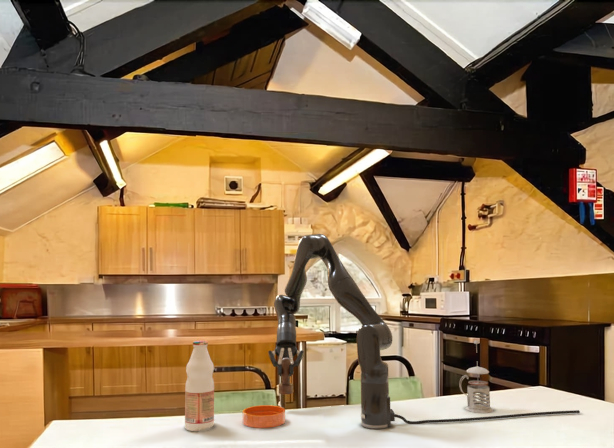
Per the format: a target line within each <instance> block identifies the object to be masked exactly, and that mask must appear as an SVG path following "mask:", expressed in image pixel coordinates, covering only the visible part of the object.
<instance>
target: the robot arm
mask: <svg viewBox="0 0 614 448" xmlns="http://www.w3.org/2000/svg"><path fill="white" fill-rule="evenodd" d="M314 259H316V260H317V259H320V260H321V261H322V262H323V264H324V266H325V267H326V269H327V286H328V289H329V292H330V293H331V294H332V296H333V298H334V299H335V301H336V302H337V304H338V305H339V306H341V307H342V308H343V309H344V310H345V311H346V312H348V313H349V314H351V315H352V316H353V317H355V319H357V320H358V321H359V323H360V324H361V326H360V327H359V328H358V330H357V332H356V333H357V335H356V350H357V352H356V353H357V362H358V365H359V368H360V426H362V427H363V428H366V429H371V430H372V429H373V430H380V429H388V428H392V422H396V418H398V419H400V420H402V421H403V422H404V423H406V424H409V425H421V424H432V423H433V424H434V423H435V424H436V423H455V422H456V423H457V422H471V421H485V420H486V421H487V420H497V419H508V418H520V417H521V418H522V417H532V416H547V415H563V414H565V415H566V414H580V413H581V411H580V410H579V409H576V410H574V409H573V410H553V411H540V412H539V411H538V412H526V413H515V414H513V413H512V414H501V415H490V416H478V417H463V418H445V419H442V418H441V419H423V420H416V421H415V420H414V421H413V420H408V419H407V418H406V417H404V416H402V415H400V414H396V412H395V411H394V410H393V409H392V408H391V396H390V386H389V383H390V382H389V364H388V363H387V362H386V361H383V360H382V357H381V351H385V350H387V349H389V348H390V347H392V344H393V333H392V331H391V329H390V327H389V326H388V324H387V323H386V321H384V320H383V319H382V317H381V316H380V315H379V313H377V311H376V310H375V309H374V308H373V306H372V305H371V304H370V302H369V300H368V299H367V298H366V296H365V295H364V294H363V292H362V291H361V289H360V288H359V286H358V284H357V283H356V281H355V280H354V278H353V277H352V276H351V274H350V273H349V271H348V270H347V269H346V267H345V265H344V264H343V262H342V261H341V259H340V257H339V255H338V254H337V252H336V250H335V248H334V246H333V244H332V242H331V241H330V239H329V238H328V236H326V235H325V234H323V233H313V234H305V235H303V236H301V238H300V239H299V241H298V244H297V248H296V252H295V257H294V261H293V266H292V270H291V273H290V276H289V278H288V280H287V283H286V285H285V288H284V294H279V295H277V296H276V297H275V299H274V302H273V306H274V311H275V314H276V317H277V330H276V345H275V348H274V350H268V351H267V353H268V357H269V360H270V363H271V364H272V366H273V368H277V375H278V376H279V377H280V378H282V363H281V361H282V359H283V358H285V357H287V358H289V359H290V377H292V376H294V372H295V371H294V369H295V367H299V366H300V364H301V362H302V360H303V359H304V357H305V356H304V355H305V354H304V352H305V351H304V350H303V349H301V350H298V348H297V328H296V327H297V324H296V323H297V322H296V320H297V319H296V316H295V315H296V314H297V313H298V312H300V308H301V298H302V295H303V291H304V289H305V288H306V285H307V281H308V276H307V272H306V268H307V267H306V266H307V265H308V263H309V261H310V260H314ZM296 355H297V357H296ZM275 356H277V357H278V361H277V359H276V357H275ZM294 357H296V359H295V360H294Z"/></svg>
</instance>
